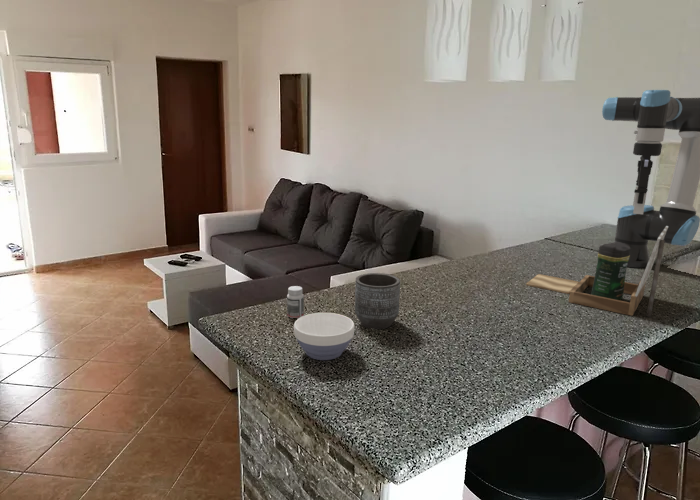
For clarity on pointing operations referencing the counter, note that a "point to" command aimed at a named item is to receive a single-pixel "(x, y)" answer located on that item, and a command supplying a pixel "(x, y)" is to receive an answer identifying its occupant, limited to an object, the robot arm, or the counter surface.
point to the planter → (377, 299)
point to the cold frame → (629, 288)
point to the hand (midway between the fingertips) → (637, 210)
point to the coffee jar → (611, 270)
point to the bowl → (324, 334)
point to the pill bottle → (295, 302)
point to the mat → (552, 283)
